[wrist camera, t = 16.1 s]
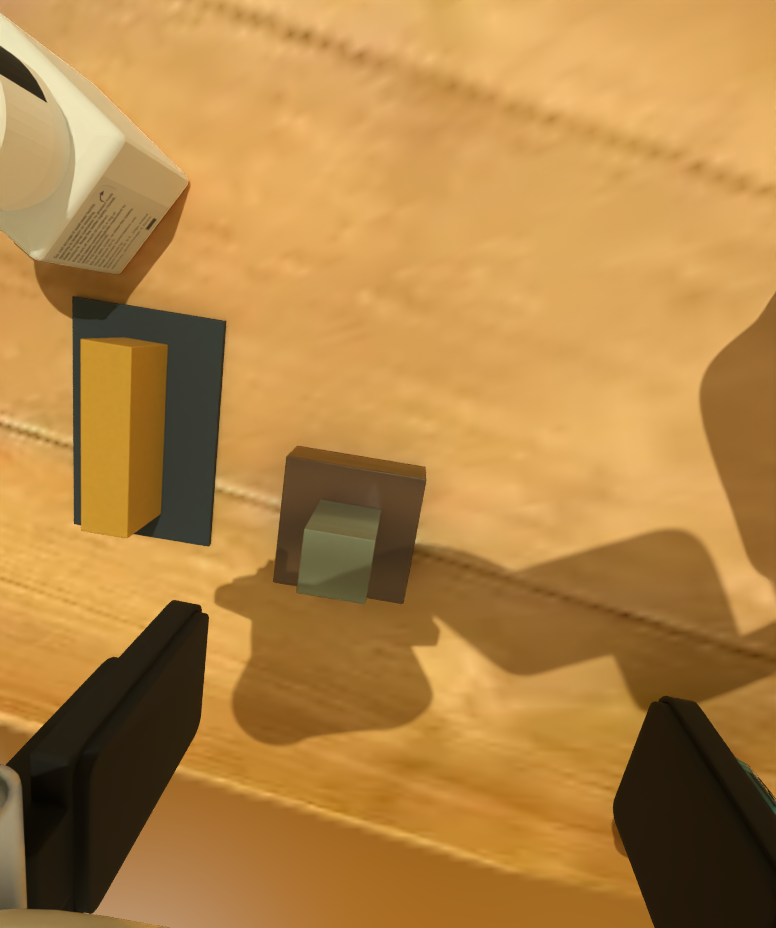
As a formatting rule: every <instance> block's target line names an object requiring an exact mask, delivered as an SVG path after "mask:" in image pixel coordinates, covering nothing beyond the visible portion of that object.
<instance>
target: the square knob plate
mask: <svg viewBox="0 0 776 928" xmlns="http://www.w3.org/2000/svg"><path fill="white" fill-rule="evenodd" d="M425 485H426V469H425V467H422V466H416V465H410V464H404V463H398V462H392V461H386V460H380V459H374V458H368V457H362V456H356V455H350V454H344V453H338V452H332V451H325V450H319V449H313V448H307V447H301V446H297V447H296V448H295V449H294V450H293V451H292V452H291V453H290V454H289V455H288V456H287V457H286V466H285V475H284V485H283V494H282V503H281V512H280V522H279V531H278V540H277V550H276V559H275V568H274V578H273V582H275V583H281V584H287V585H293V586H297V593H301V594H307V595H313V596H319V597H325V598H331V599H337V600H343V601H349V602H355V603H361V604H365V603H366V598H370V599H376V600H382V601H388V602H394V603H400V604H403V603H404V598H405V593H406V587H407V582H408V576H409V571H410V566H411V560H412V555H413V549H414V544H415V539H416V533H417V528H418V522H419V517H420V512H421V506H422V501H423V495H424V490H425Z"/></svg>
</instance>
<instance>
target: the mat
mask: <svg viewBox="0 0 776 928" xmlns="http://www.w3.org/2000/svg"><path fill="white" fill-rule="evenodd" d="M72 303H73V443H74V524H77V525H81V339H88V338H120V337H125V338H131V339H137V340H143V341H149V342H155V343H161V344H167V345H168V354H167V378H166V403H165V427H164V452H163V476H162V501H161V514H160V515H159V516H157V517H156V518H154V519H153V520H152V521H150V522H149V523H148V524H146V525H145V526H143V527H142V528H141V529H139V530H138V531H137V532H135V533H134V534H137V535H143V536H149V537H155V538H161V539H167V540H173V541H179V542H185V543H191V544H197V545H203V546H209V545H210V544H211V530H212V515H213V501H214V487H215V472H216V458H217V444H218V429H219V415H220V401H221V386H222V372H223V358H224V344H225V329H226V321H222V320H216V319H210V318H204V317H198V316H192V315H185V314H179V313H173V312H167V311H161V310H155V309H149V308H143V307H136V306H130V305H124V304H118V303H112V302H106V301H100V300H94V299H87V298H81V297H74V296H73V297H72Z"/></svg>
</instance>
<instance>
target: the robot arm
mask: <svg viewBox="0 0 776 928" xmlns="http://www.w3.org/2000/svg"><path fill="white" fill-rule="evenodd" d="M208 623H209V616H208V614H206V613H202V609H201V606H200V605H197V604H192V603H187V602H182V601H177V600H173V601H171V602H170V603H169V604H168V605H167V606H166V607H165V608H164V609H163V610H162V611H161V613H160V614H159V615H158V616H157V617H156V618H155V619H154V620H153V621H152V622H151V623H150V624H149V626H148V627H147V628H146V629H145V630H144V631H143V632H142V633H141V634H140V635H139V636H138V637H137V639H136V640H135V641H134V642H133V643H132V644H131V645H130V646H129V647H128V648H127V649H126V650H125V652H124V653H123V654H122V655H121V656H120V657H119V658H117V657H112V658H109V659H107V660H106V661H105V662H104V663H102V664H101V665H100V667H99V668H98V669H97V670H96V671H95V672H94V673H93V674H92V675H91V676H90V677H89V678H88V679H87V680H86V681H85V682H84V683H83V684H82V685H81V686H80V687H79V689H78V690H77V691H76V692H75V693H74V694H73V695H72V696H71V697H70V698H69V699H68V700H67V701H66V702H65V703H64V704H63V705H62V706H61V707H60V708H59V709H58V711H57V712H56V713H55V714H54V715H53V716H52V717H51V718H50V719H49V720H48V721H47V722H46V723H45V724H44V725H43V726H42V727H41V728H40V729H39V730H38V732H37V733H36V734H35V735H34V736H33V737H32V738H31V739H30V740H29V741H28V742H27V743H26V744H25V745H24V746H23V747H22V748H21V749H20V751H18V752H17V754H16V755H15V756H14V757H13V758H12V759H11V760H10V761H9V762H8V763H7V764H6V765H1V764H0V928H168V927H163V926H157V925H152V924H146V923H141V922H136V921H130V920H125V919H119V918H114V917H108V916H101V915H92V913H93V912H94V911H95V910H96V909H97V908H98V906H99V904H100V903H101V901H102V899H103V898H104V896H105V894H106V892H107V891H108V889H109V887H110V885H111V883H112V882H113V880H114V878H115V876H116V875H117V873H118V871H119V869H120V868H121V866H122V864H123V862H124V861H125V859H126V857H127V855H128V853H129V852H130V850H131V848H132V846H133V845H134V843H135V841H136V839H137V837H138V836H139V834H140V832H141V830H142V829H143V827H144V825H145V823H146V821H147V820H148V818H149V816H150V814H151V813H152V811H153V809H154V807H155V806H156V804H157V802H158V800H159V798H160V797H161V795H162V793H163V791H164V789H165V788H166V786H167V784H168V783H169V781H170V779H171V777H172V775H173V774H174V772H175V770H176V768H177V767H178V765H179V763H180V761H181V759H182V758H183V756H184V754H185V752H186V751H187V749H188V747H189V745H190V744H191V742H192V740H193V738H194V736H195V734H196V732H197V729H198V726H199V723H200V718H201V709H202V696H203V684H204V672H205V660H206V647H207V635H208ZM613 814H614V820H615V823H616V826H617V828H618V831H619V834H620V836H621V839H622V842H623V844H624V847H625V850H626V852H627V855H628V858H629V860H630V863H631V866H632V868H633V871H634V874H635V877H636V879H637V882H638V885H639V887H640V890H641V893H642V895H643V898H644V901H645V903H646V906H647V909H648V911H649V914H650V917H651V919H652V922H653V924H654V927H655V928H776V814H775V813H774V812H773V810H772V809H771V807H770V806H769V804H768V803H767V802H766V800H765V799H764V797H763V796H762V795H761V793H760V792H759V790H758V789H757V787H756V786H755V785H754V783H753V782H752V780H751V779H750V778H749V776H748V775H747V773H746V772H745V770H744V769H743V768H742V766H741V765H740V763H739V762H738V761H737V759H736V758H735V756H734V755H733V753H732V752H731V751H730V749H729V748H728V746H727V745H726V743H725V742H724V741H723V739H722V738H721V736H720V735H719V734H718V732H717V731H716V729H715V728H714V726H713V725H712V724H711V722H710V721H709V719H708V718H707V717H706V715H705V714H704V712H703V711H702V709H701V708H700V707H699V706H698V705H697V703H695V702H693V701H690V700H684V699H679V698H674V697H669V696H663V697H661V698H660V699H659V701H658V702H653V703H651V705H650V707H649V709H648V712H647V715H646V717H645V720H644V722H643V725H642V728H641V730H640V733H639V736H638V738H637V741H636V743H635V746H634V749H633V751H632V754H631V757H630V759H629V762H628V765H627V767H626V770H625V772H624V775H623V778H622V780H621V783H620V786H619V788H618V791H617V793H616V796H615V799H614V803H613ZM84 912H85V913H89V914H85V913H84Z"/></svg>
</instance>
